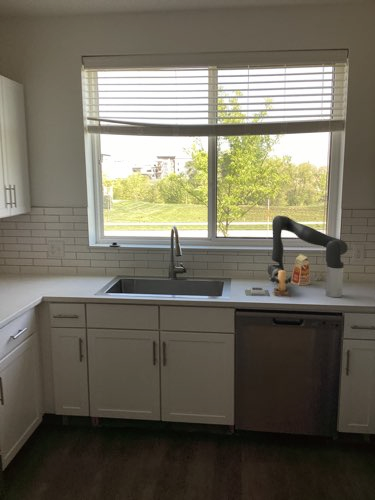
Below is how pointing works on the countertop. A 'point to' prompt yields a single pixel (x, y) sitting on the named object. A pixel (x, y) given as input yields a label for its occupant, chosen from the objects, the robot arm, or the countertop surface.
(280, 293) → the holder
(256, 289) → the hub
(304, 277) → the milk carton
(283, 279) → the peg
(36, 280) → the countertop surface
